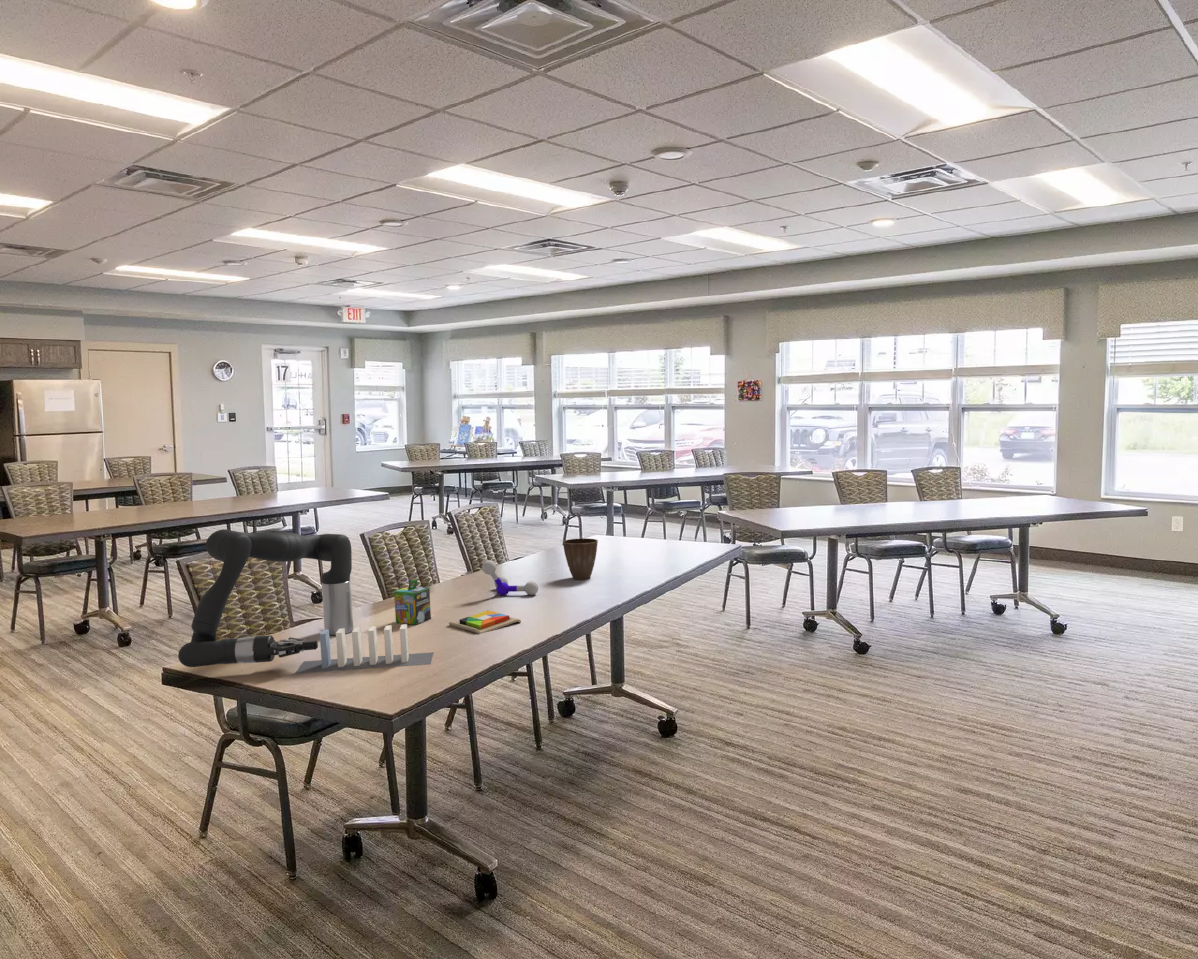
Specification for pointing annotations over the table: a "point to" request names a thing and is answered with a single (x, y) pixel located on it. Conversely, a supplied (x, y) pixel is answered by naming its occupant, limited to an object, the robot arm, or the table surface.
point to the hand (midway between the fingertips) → (317, 645)
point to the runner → (365, 663)
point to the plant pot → (580, 556)
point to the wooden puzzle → (484, 622)
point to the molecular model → (502, 582)
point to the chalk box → (412, 604)
